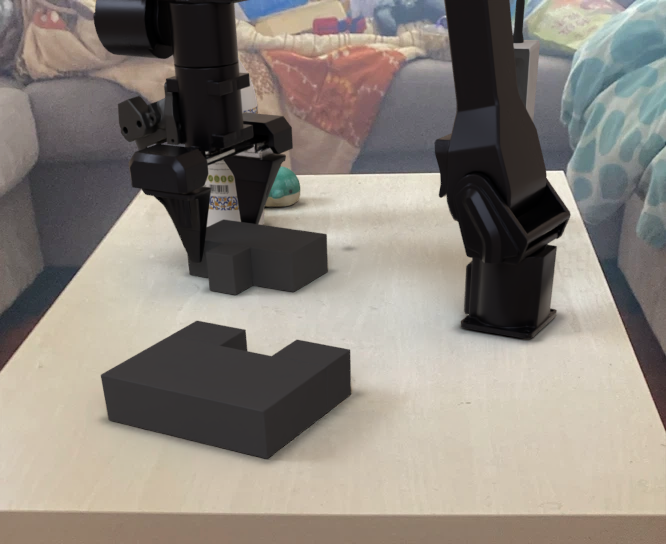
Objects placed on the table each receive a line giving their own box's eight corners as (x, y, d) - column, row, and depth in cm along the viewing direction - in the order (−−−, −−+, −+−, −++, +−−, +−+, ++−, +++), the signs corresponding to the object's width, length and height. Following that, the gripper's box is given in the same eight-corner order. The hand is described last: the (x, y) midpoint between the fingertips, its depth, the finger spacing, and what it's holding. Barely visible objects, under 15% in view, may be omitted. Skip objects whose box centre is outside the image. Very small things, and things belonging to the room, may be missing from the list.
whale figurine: (308, 207, 119) (306, 170, 116) (247, 215, 117) (244, 178, 114) (291, 194, 123) (289, 159, 120) (232, 203, 121) (228, 166, 118)
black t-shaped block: (328, 271, 101) (327, 233, 99) (276, 302, 95) (274, 262, 93) (226, 255, 106) (223, 219, 104) (171, 284, 100) (166, 245, 97)
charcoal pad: (351, 394, 79) (350, 349, 77) (267, 459, 71) (263, 411, 69) (201, 363, 85) (196, 319, 82) (108, 420, 77) (99, 374, 75)
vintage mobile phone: (479, 235, 109) (498, -63, 93) (490, 221, 112) (509, -68, 96) (515, 237, 108) (540, -63, 92) (524, 224, 111) (549, -68, 95)
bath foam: (265, 234, 111) (250, 9, 98) (200, 237, 111) (177, 12, 98) (265, 216, 116) (251, 0, 103) (203, 219, 116) (181, 3, 103)
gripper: (193, 42, 101) (210, 214, 111) (66, 75, 89) (98, 265, 99) (291, 48, 96) (299, 227, 107) (171, 83, 84) (193, 282, 95)
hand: (223, 248), depth 102 cm, fingers open, 9 cm apart
